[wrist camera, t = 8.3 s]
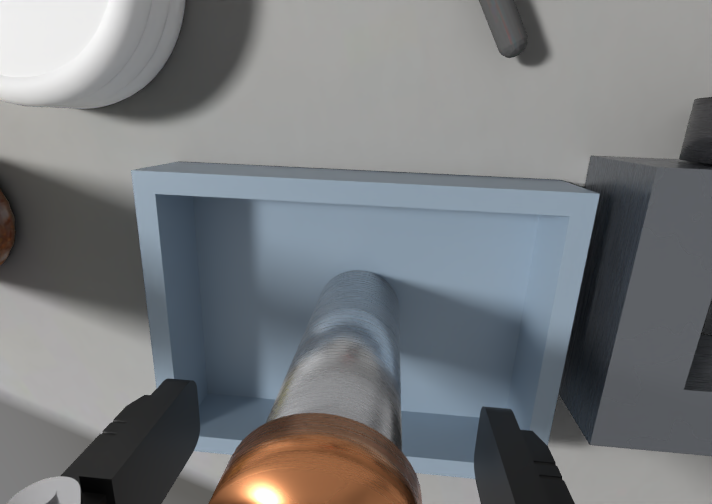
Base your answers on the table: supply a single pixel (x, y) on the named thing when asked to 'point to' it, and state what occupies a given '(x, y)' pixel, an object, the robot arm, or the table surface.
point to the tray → (374, 254)
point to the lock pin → (333, 411)
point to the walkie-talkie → (505, 26)
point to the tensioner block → (647, 302)
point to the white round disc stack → (83, 49)
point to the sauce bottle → (6, 228)
